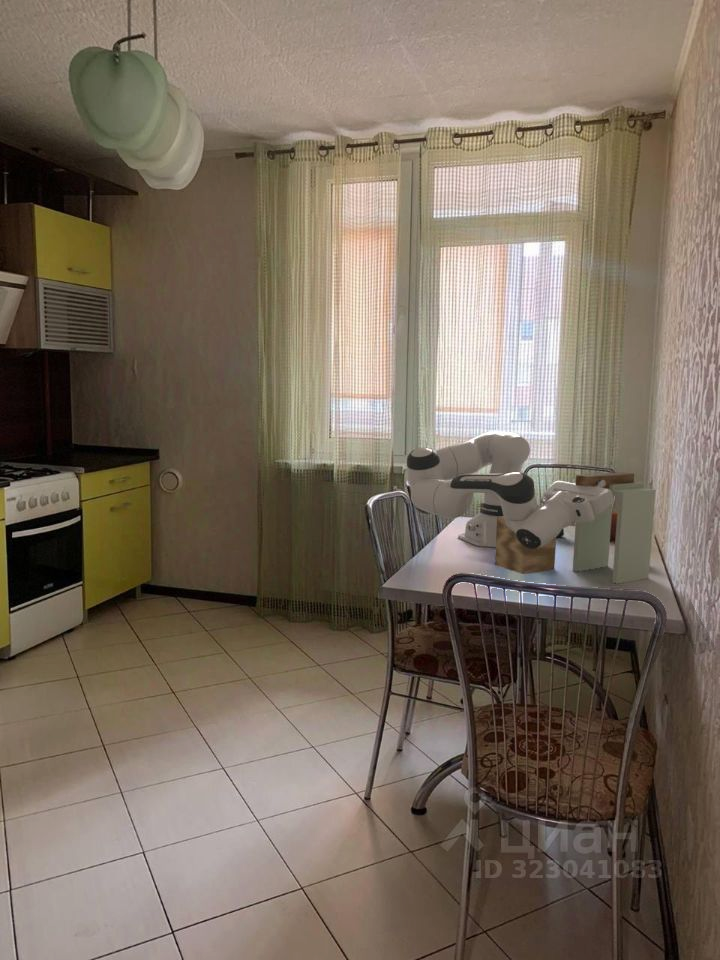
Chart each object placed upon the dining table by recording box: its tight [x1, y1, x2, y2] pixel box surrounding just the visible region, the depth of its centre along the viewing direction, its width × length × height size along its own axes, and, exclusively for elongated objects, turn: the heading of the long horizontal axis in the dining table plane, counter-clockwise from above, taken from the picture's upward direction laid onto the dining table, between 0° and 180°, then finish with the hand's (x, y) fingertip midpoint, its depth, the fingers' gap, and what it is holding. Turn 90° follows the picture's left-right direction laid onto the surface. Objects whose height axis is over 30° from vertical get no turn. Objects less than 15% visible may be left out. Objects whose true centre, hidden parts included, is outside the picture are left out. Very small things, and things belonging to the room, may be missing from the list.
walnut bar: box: [575, 471, 635, 489], centre depth 207 cm, size 4×20×4 cm, turn 122°
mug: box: [610, 509, 618, 541], centre depth 262 cm, size 12×9×10 cm
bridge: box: [572, 482, 657, 585], centre depth 211 cm, size 16×14×28 cm
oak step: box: [494, 516, 557, 575], centre depth 218 cm, size 12×13×15 cm
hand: (595, 480), depth 205 cm, fingers closed on walnut bar, 4 cm apart
